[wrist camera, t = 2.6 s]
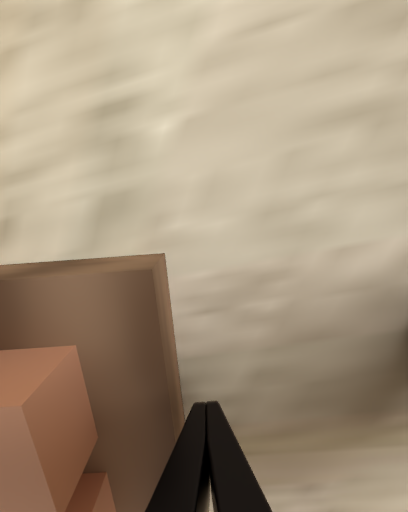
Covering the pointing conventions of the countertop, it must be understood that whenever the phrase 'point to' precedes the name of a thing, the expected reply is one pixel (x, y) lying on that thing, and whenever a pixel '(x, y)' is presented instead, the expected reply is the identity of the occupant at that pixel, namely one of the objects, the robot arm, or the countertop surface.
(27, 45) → the countertop surface
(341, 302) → the countertop surface
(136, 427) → the walnut board
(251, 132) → the countertop surface
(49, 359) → the tile
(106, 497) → the block
